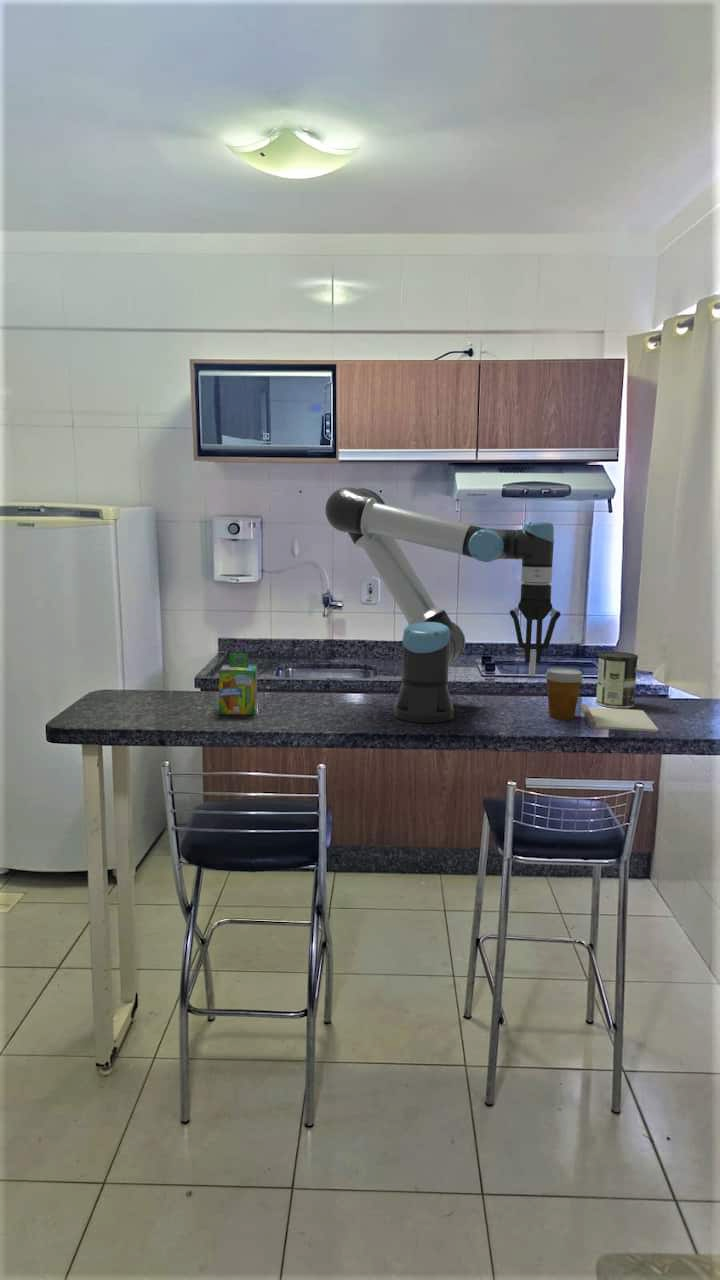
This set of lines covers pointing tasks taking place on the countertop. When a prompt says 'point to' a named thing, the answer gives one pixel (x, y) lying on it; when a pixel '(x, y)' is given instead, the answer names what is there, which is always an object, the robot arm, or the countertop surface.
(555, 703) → the disposable coffee cup
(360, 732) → the countertop surface
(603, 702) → the coffee can
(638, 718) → the cream flat rectangular board
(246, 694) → the chalk box
